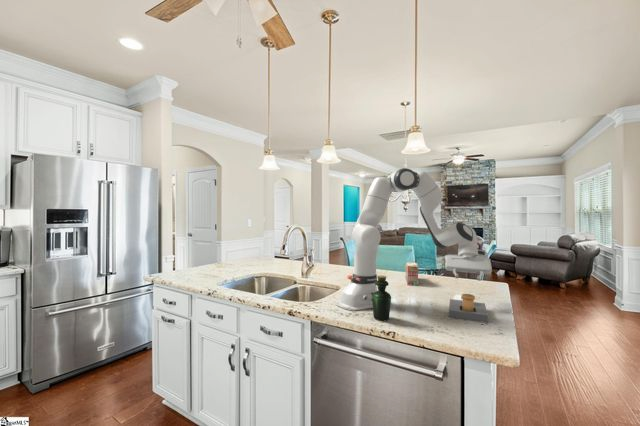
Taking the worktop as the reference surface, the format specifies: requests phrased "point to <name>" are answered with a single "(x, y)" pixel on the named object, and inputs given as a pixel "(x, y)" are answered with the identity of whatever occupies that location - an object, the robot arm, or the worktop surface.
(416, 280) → the stack of blocks
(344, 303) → the robot arm
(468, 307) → the mushroom head peg
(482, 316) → the gray peg hole board
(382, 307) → the potion bottle
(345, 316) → the worktop surface
